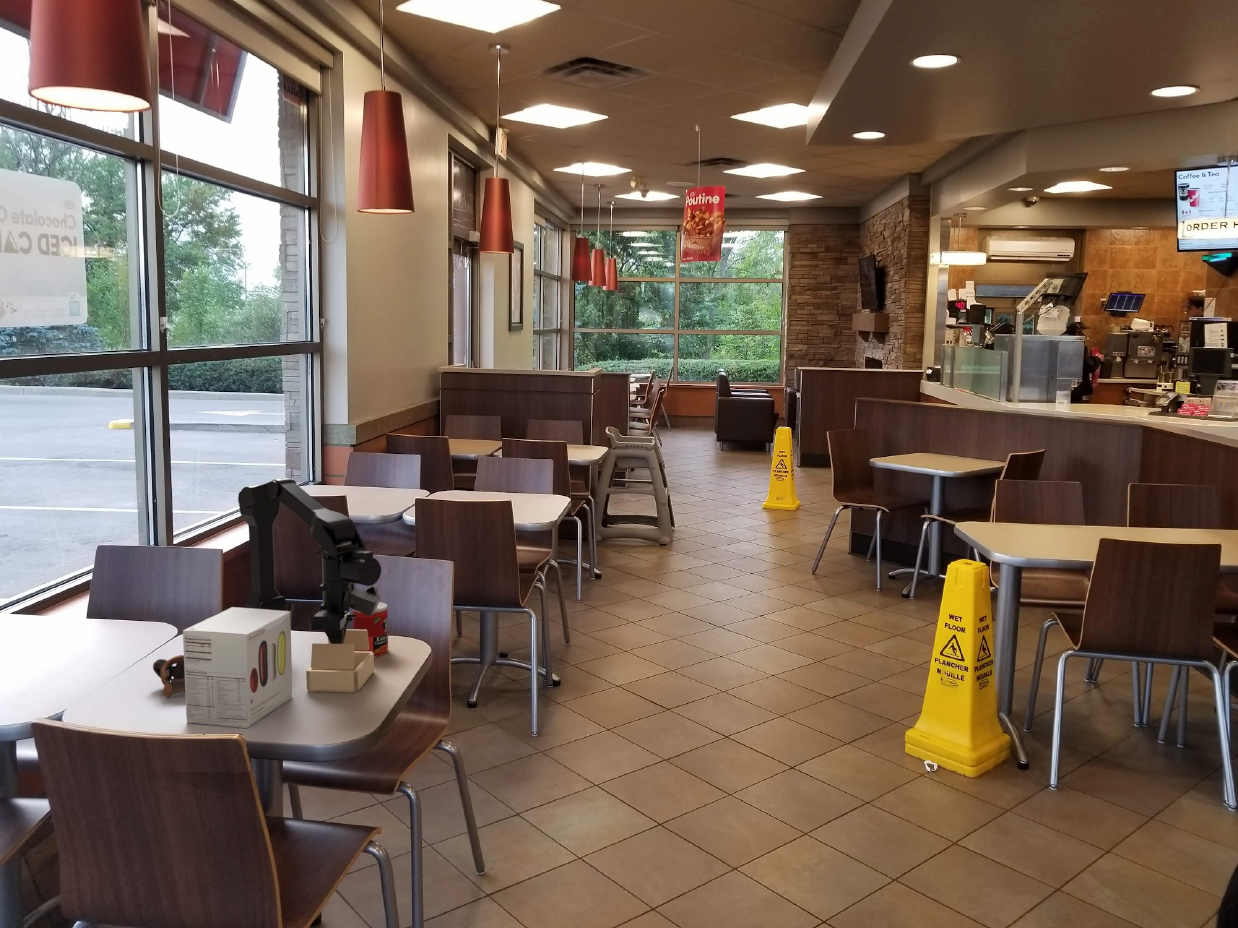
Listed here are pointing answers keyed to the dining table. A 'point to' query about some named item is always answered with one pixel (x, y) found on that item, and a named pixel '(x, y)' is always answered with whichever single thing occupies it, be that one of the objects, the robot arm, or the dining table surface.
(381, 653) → the canned food
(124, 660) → the dining table surface
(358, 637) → the far flap
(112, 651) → the dining table surface
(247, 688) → the supplement box
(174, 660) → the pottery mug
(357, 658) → the carton
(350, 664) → the near flap
